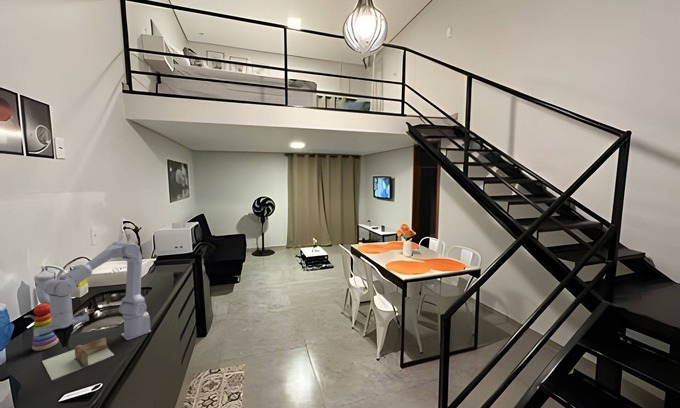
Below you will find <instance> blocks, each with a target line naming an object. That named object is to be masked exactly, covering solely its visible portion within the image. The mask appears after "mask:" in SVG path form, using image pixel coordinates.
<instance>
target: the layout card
mask: <svg viewBox="0 0 680 408" xmlns="http://www.w3.org/2000/svg"><path fill="white" fill-rule="evenodd" d="M81 348H82V346H81ZM111 356H112V357H113V356H115V354H114V353H113V352H112V351H111V350H110V347H109V345H107V348H105V349H102V350H99V351H97V352H94V353H92V354H89V355H88V364H87V365H83V364H82V363H81V362H80V361H79V360H78V359H75V348H74V349H72V350H69V351H66V352H64V353H60V354H58V355H55V356H52V357H49V358H47V359H44V360H42V361H41V362H42V364H43V366H44V368H45V370H46V372H47V374H48V377H49V378H50V381H55V380H58V379H59V378H62V377H65V376H68V375H69V374H72V373H75V372H76V371H80V370H81V369H84V368H86V367H89V366H91V365H94V364H97V363H99V362H102V361H104V360H106V359H109V358H111Z"/></svg>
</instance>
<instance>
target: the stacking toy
mask: <svg viewBox="0 0 680 408" xmlns="http://www.w3.org/2000/svg"><path fill="white" fill-rule="evenodd" d="M33 313H34V314H33V315H35V317H34V322H33V326H34V327H33V332H32V334H33V336H32V339H33V340H32V343H31V344H32V346H31V349H32V350H33V351H37V352H38V351H44V350H48V349H50V348H53V347H54V346H56V345H57V344H58V343H59V342H60V341H59V339H58V337H57V336H56V335H55V334H54V333H53V331H51V332H48V333H44V334H41V335H39V336H37V337H35V336H34V330H36V329H39V328H42V327H44V326H47V325H49V324H51V313H50V303H47V302H46V303H45V302H44V303H40V304H38V305H36V306H35V307H34V308H33Z"/></svg>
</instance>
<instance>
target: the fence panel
mask: <svg viewBox="0 0 680 408" xmlns="http://www.w3.org/2000/svg"><path fill="white" fill-rule="evenodd" d="M77 355H78V360H79V361H80V362H81V363H82V364H83V365H87V364H88V354H87V353H86V352H85V351H84V350H83V349H82V348H80V349H78V350H77Z"/></svg>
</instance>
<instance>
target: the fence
mask: <svg viewBox="0 0 680 408" xmlns="http://www.w3.org/2000/svg"><path fill="white" fill-rule="evenodd" d="M107 346H108V345H107V337H102V338H99V339H96V340H94V341H92V342H88V343H85V344H84V345H81V344H78V345H75V346H74V349H75V359H78V355H77V350H78V349H80V348H81V347H82V349H83V350H84V351H85V352H86V353H87V354H88V355H89V354H92V353H94V352H97V351H99V350H102V349H105V348H107Z"/></svg>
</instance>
